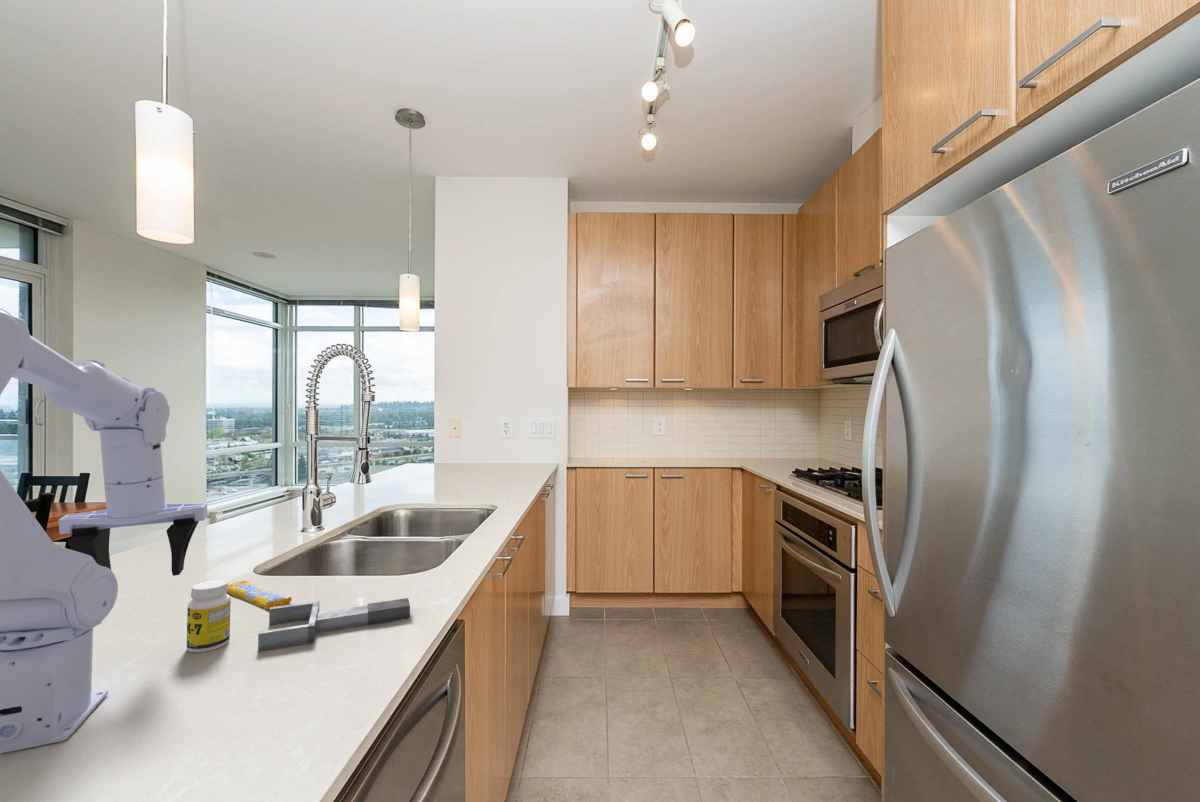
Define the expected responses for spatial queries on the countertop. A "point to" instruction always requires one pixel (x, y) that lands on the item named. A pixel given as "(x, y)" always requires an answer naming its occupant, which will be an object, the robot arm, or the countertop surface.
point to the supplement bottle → (208, 616)
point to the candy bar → (257, 595)
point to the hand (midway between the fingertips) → (142, 577)
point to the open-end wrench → (325, 621)
